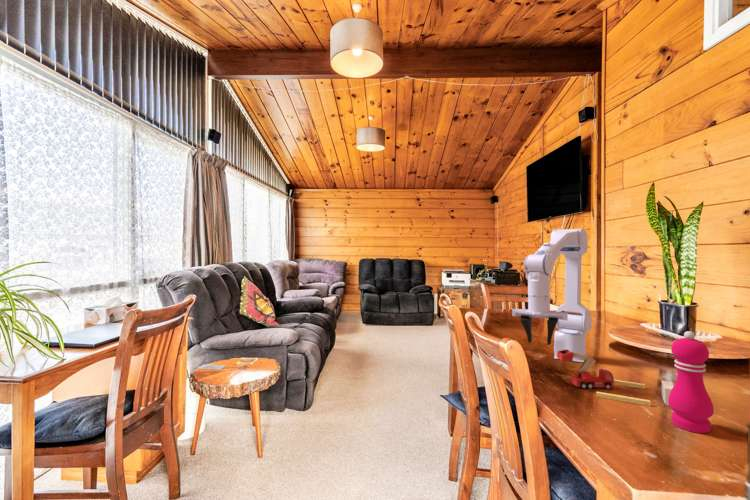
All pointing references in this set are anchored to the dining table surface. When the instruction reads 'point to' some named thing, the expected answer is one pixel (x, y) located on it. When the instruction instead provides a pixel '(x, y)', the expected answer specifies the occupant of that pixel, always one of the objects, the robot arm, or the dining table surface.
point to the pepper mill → (690, 386)
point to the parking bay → (666, 387)
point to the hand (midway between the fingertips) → (539, 342)
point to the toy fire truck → (585, 377)
